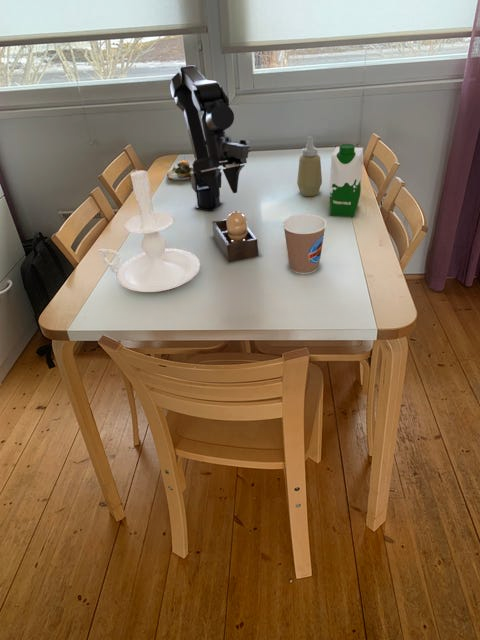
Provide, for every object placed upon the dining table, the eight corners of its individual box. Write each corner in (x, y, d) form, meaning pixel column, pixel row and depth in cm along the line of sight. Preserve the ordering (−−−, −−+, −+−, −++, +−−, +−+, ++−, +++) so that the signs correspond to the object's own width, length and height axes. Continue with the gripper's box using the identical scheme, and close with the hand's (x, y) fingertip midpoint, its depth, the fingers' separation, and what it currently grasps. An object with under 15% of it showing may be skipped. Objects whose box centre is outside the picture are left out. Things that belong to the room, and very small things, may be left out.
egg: (224, 245, 124) (221, 214, 119) (234, 236, 128) (231, 206, 122) (242, 248, 122) (240, 217, 117) (251, 239, 125) (249, 209, 120)
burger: (161, 178, 177) (157, 158, 173) (186, 169, 183) (183, 150, 179) (180, 185, 170) (177, 165, 165) (205, 176, 176) (203, 156, 171)
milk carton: (326, 216, 140) (329, 148, 129) (332, 204, 147) (335, 138, 135) (356, 218, 138) (362, 149, 126) (360, 206, 145) (366, 139, 133)
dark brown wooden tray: (228, 262, 123) (226, 245, 120) (213, 237, 135) (211, 221, 132) (258, 256, 124) (257, 239, 121) (241, 232, 136) (239, 216, 133)
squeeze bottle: (294, 196, 154) (293, 140, 143) (300, 187, 160) (301, 132, 149) (318, 199, 151) (319, 141, 141) (324, 189, 157) (326, 133, 146)
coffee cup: (314, 281, 112) (315, 236, 105) (276, 272, 117) (274, 228, 110) (331, 262, 119) (333, 218, 112) (294, 253, 124) (294, 211, 117)
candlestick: (120, 258, 129) (93, 155, 112) (208, 259, 125) (195, 152, 108) (90, 301, 112) (54, 188, 96) (191, 303, 109) (172, 186, 92)
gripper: (222, 128, 113) (234, 194, 117) (258, 127, 128) (267, 186, 132) (185, 138, 119) (198, 201, 123) (223, 136, 134) (234, 192, 138)
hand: (226, 195), depth 129 cm, fingers open, 9 cm apart
